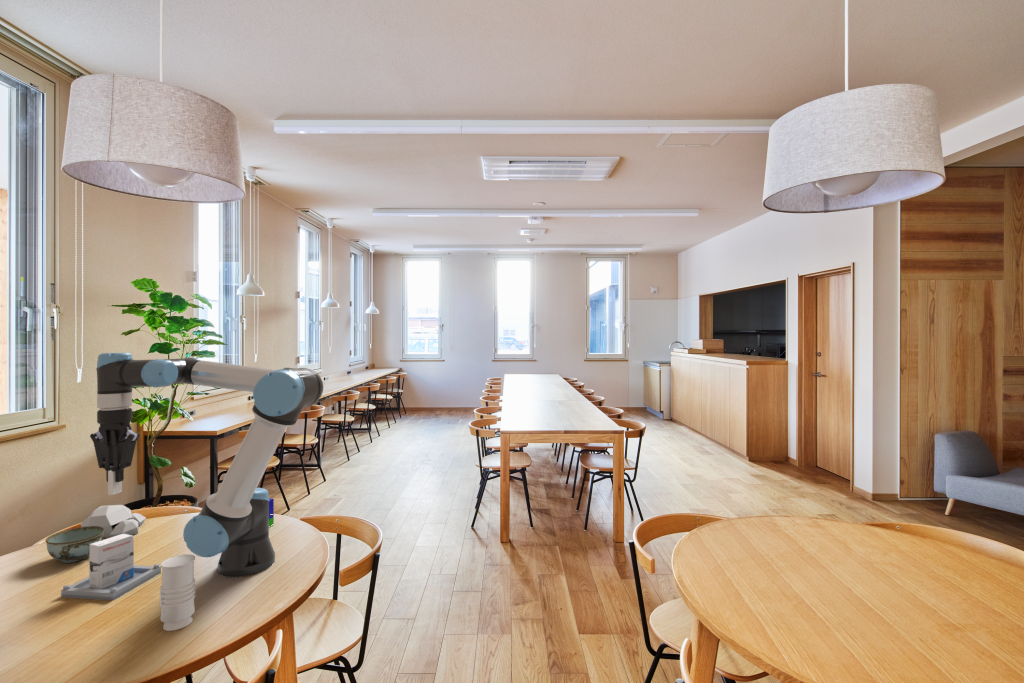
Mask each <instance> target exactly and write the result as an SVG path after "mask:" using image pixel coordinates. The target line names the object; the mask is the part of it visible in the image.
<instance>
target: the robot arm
mask: <svg viewBox="0 0 1024 683" xmlns="http://www.w3.org/2000/svg"><path fill="white" fill-rule="evenodd" d="M95 369H96V370H95V371H96V382H97V385H96V386H97V387H96V388H97V389H96V390H97V391H96V392H97V394H96V408H97V409H98V410H97V412H96V422H97V424H98V425H99V427H98V431H96V432H94V433H91V434H90V436H89V438H90V439H91V441H92V442H93V445H94V451H95V457H96V460H97V465H98V468H99V469H104V470H105V474H106V479H105V480H106V483H107V495H108V496H114V495H117V494H121V493H122V492H123V481H124V479H125V476H124V474H125V469H127V468H128V467H129V468H130V467H131V466H132V461H133V458H134V454H135V449H136V445H137V441H138V439H139V438H140V435H141V434H140V433H139V432H134V431H133V430H132V426H131V421H132V420H133V409H132V408H131V407H132V405H133V388H134V387H135V388H138V387H139V388H141V387H142V388H156V389H157V388H164V387H165V388H166V387H170V386H171V385H180V384H185V385H192V386H193V385H195V386H203V387H210V388H219V389H224V390H225V389H226V390H233V391H241V392H247V393H248V392H249V393H252V398H253V402H254V404H253V405H252V406H253V407H252V408H251V410H252V413H253V415H254V418H253V420H252V422H251V424H250V425H249V429H248V430H247V432H246V434H245V436H244V438H243V440H242V442H241V443H240V445H239V448H238V450H237V452H236V454H235V456H234V457H233V460H232V462H231V464H230V466H229V468H228V469H227V472H226V474H225V476H224V478H223V479H222V482H221V484H220V486H219V487H218V490H217V492H216V493H215V492H214V493H212V494H210V495H209V496H208V497H207V498H206V501H205V502H204V504H203V506H202V508H201V510H200V511H199V513H198V514H197V515H195V516H193V517H192V518H191V519H190V520H188V521H187V523H186V524H185V526H184V528H183V533H182V535H183V541H184V542H185V543H186V547H187V549H188V550H189V551H190V552H191V553H192V554H193V555H196V556H198V557H201V558H212V557H215V556H217V555H219V554H220V557H219V560H218V563H217V573H218V574H219V575H220V576H222V577H225V578H242V577H243V578H244V577H248V576H253V575H256V574H259V573H261V572H264V571H266V570H268V569H270V568H271V567H272V566H273V565H274V564H275V561H276V552H275V551H274V548H273V544H272V542H271V539H270V535H269V533H270V530H269V529H270V527H269V501H270V500H269V498H270V496H269V491H268V490H267V489H266V488H263V487H258V486H259V484H260V483H261V481H262V478H263V476H264V474H265V472H266V470H267V468H268V466H269V464H270V462H271V460H272V458H273V456H274V454H275V452H276V450H277V448H278V447H279V444H280V442H281V440H282V438H283V436H284V434H285V432H286V430H287V428H289V427H293V426H295V425H296V423H297V421H298V420H299V418H300V415H301V414H302V412H303V410H304V409H306V408H309V407H311V406H313V405H315V404H316V403H317V402H319V400H320V399H321V397H322V395H323V393H324V381H323V379H322V377H321V376H320V375H319V373H317V372H316V371H315V370H313V369H311V368H307V367H298V368H297V367H296V368H292V367H283V368H281V369H273V368H267V367H266V368H264V367H257V366H248V365H241V364H232V363H226V362H216V361H210V360H201V359H199V358H194V357H183V358H181V357H180V358H163V359H162V358H161V359H133V354H132V353H131V352H102V353H100V354H98V356H97V364H96V368H95ZM273 563H274V564H273ZM272 564H273V565H272ZM270 566H271V567H270Z"/></svg>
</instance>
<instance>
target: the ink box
mask: <svg viewBox="0 0 1024 683" xmlns="http://www.w3.org/2000/svg"><path fill="white" fill-rule="evenodd" d="M134 538H135V537H134V535H128V534H120V535H117V536H114V537H107V538H106V539H105V538H104V539H102V540H101V541H98V542H95V543H92V544H90V555H89V556H88V557H89V560H88V562H89V563H88V564H89V568H88V569H89V572H88V573H89V576H88V577H89V587H91V588H94V589H104V588H106V587H109V586H111V585H114V584H116V583H119V582H121V581H123V580H126V579H128V578H131V577H133V576H134V565H135V560H134V559H135V555H134V554H135V553H134V552H135V551H134V550H135V549H134V547H135V546H134V545H135V544H134Z"/></svg>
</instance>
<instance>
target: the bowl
mask: <svg viewBox="0 0 1024 683" xmlns="http://www.w3.org/2000/svg"><path fill="white" fill-rule="evenodd" d="M104 530H105V529H104V528H103V527H100V526H86V527H82V526H81V527H75V528H71V529H67V530H66V529H65V530H62V531H59V532H57V533H54V534H51V535H49V536H48V537H47V538H46V539H45V542H46V550H47V553H48V554H49V556H50V557H51V558H53V559H54V560H56V561H60V562H61V563H63V564H70V563H71V562H72V563H75V562H76V561H77V562H80V561H83V560H86V559H87V558H88V557H89V555H90V544H92V543H95V542H98V541H102V540H103V538H104V537H103V532H104ZM102 537H103V538H102ZM77 562H76V563H77Z"/></svg>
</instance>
